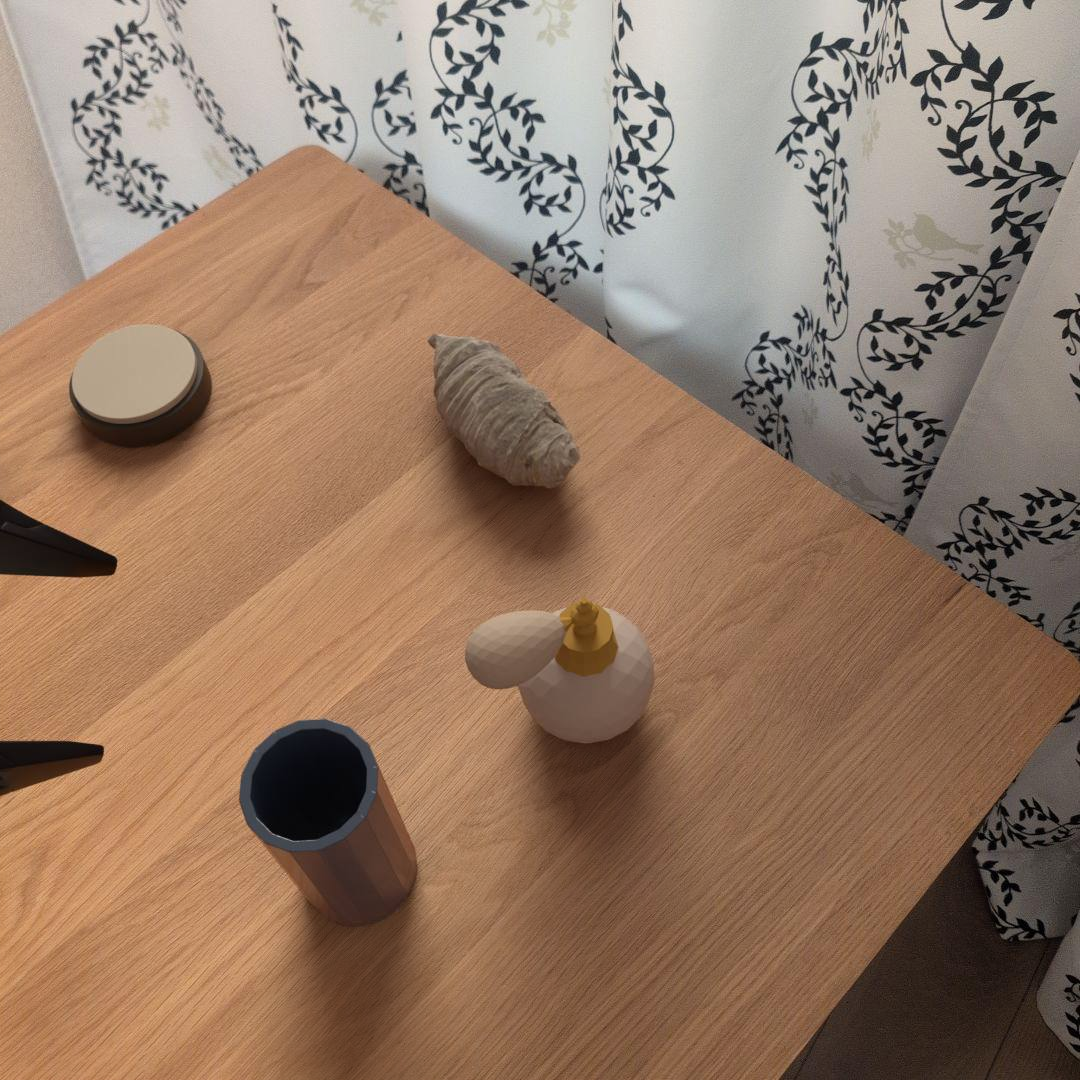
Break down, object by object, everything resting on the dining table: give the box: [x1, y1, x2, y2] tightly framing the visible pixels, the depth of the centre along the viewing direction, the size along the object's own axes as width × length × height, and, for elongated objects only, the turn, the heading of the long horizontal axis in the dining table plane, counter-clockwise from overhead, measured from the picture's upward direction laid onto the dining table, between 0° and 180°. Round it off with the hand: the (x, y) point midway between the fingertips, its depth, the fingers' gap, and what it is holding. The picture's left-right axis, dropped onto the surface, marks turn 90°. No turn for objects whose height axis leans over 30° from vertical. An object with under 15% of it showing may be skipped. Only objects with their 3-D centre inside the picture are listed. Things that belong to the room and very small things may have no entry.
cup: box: [238, 718, 418, 928], centre depth 55 cm, size 6×6×13 cm
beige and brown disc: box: [68, 323, 213, 448], centre depth 78 cm, size 9×9×3 cm
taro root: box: [427, 333, 581, 489], centre depth 73 cm, size 6×14×8 cm, turn 36°
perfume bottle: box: [464, 596, 655, 744], centre depth 60 cm, size 8×10×12 cm
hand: (109, 655), depth 50 cm, fingers open, 9 cm apart
